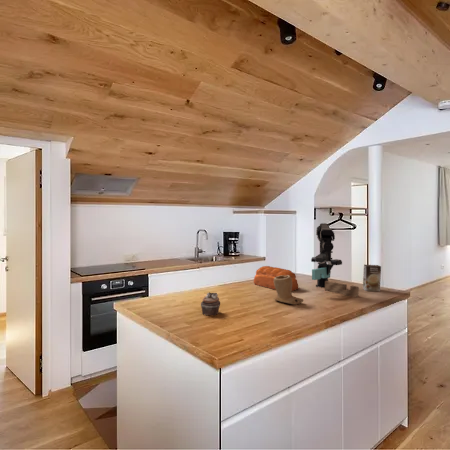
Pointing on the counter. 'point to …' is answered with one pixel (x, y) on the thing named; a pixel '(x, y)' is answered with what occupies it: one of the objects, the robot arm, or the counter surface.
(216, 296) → the cupcake
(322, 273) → the crossbar
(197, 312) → the counter surface
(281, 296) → the brown hollow boot-shaped piece
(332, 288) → the rail
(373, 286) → the coffee box
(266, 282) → the bread
